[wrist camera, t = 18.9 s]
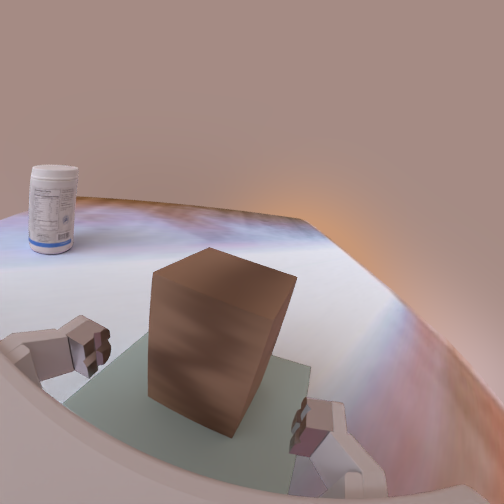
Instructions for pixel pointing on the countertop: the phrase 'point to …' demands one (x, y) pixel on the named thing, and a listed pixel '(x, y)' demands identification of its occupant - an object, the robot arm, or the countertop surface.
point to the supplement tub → (52, 208)
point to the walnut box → (213, 335)
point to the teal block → (193, 434)
